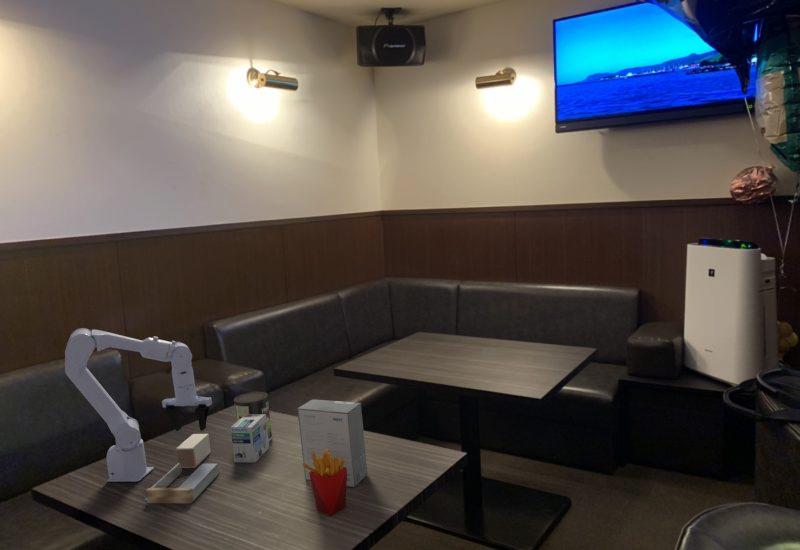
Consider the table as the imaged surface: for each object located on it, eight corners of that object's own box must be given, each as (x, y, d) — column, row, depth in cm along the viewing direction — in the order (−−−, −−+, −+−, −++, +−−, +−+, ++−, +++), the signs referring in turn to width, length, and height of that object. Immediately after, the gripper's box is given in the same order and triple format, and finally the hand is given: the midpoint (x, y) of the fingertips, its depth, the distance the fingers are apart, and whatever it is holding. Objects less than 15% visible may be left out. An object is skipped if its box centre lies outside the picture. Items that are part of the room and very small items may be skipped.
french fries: (332, 498, 147) (326, 441, 145) (356, 508, 142) (351, 448, 140) (305, 515, 140) (299, 454, 138) (329, 525, 135) (323, 463, 133)
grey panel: (144, 500, 153) (142, 489, 153) (174, 472, 168) (173, 462, 167) (152, 500, 153) (150, 489, 152) (181, 472, 167) (180, 462, 167)
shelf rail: (147, 503, 152) (145, 490, 151) (149, 500, 153) (148, 487, 152) (191, 503, 150) (189, 490, 149) (193, 500, 151) (192, 487, 150)
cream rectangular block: (178, 468, 171) (176, 448, 170) (195, 452, 181) (192, 434, 180) (195, 468, 170) (192, 448, 169) (210, 452, 180) (208, 433, 179)
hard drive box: (368, 474, 158) (362, 402, 155) (354, 488, 151) (348, 413, 149) (319, 467, 165) (312, 398, 162) (303, 480, 158) (296, 408, 155)
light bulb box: (255, 463, 170) (251, 427, 169) (233, 463, 171) (229, 427, 170) (270, 447, 181) (266, 413, 179) (249, 447, 182) (245, 413, 180)
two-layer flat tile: (176, 500, 152) (174, 489, 151) (203, 472, 166) (202, 462, 166) (193, 500, 151) (192, 489, 151) (219, 472, 166) (218, 462, 165)
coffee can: (275, 432, 192) (271, 390, 190) (268, 445, 182) (263, 401, 180) (243, 434, 192) (238, 392, 190) (234, 448, 182) (229, 403, 180)
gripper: (214, 379, 174) (220, 423, 176) (168, 380, 177) (175, 424, 179) (202, 387, 168) (209, 433, 170) (155, 389, 170) (162, 434, 172)
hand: (191, 429), depth 174 cm, fingers open, 7 cm apart
